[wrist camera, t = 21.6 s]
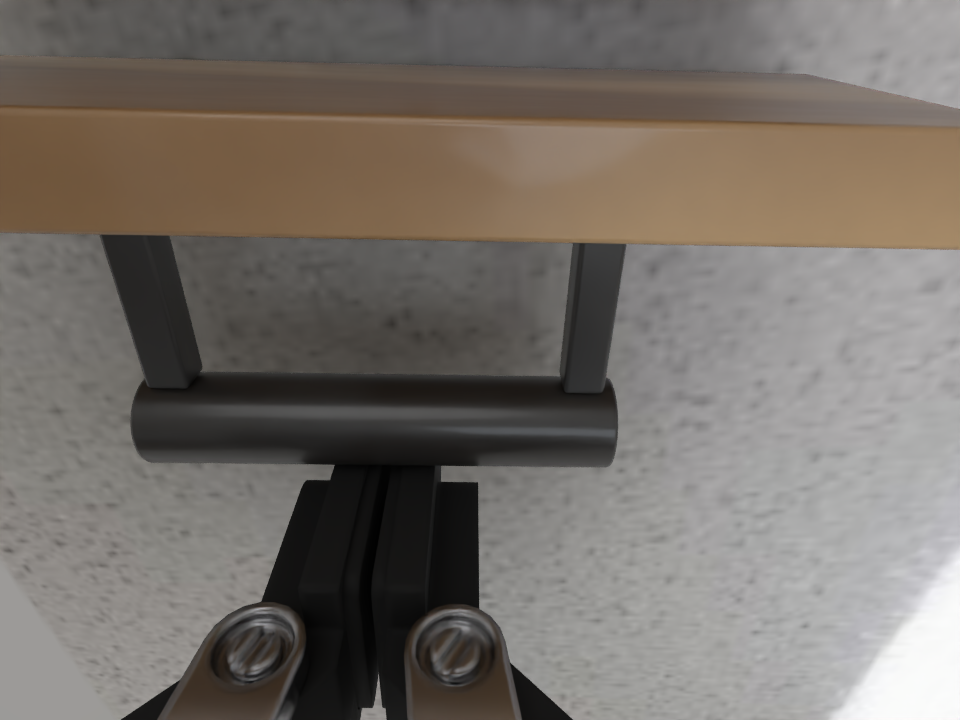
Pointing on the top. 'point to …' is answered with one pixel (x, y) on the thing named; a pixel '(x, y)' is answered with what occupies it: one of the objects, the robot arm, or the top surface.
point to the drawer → (443, 216)
